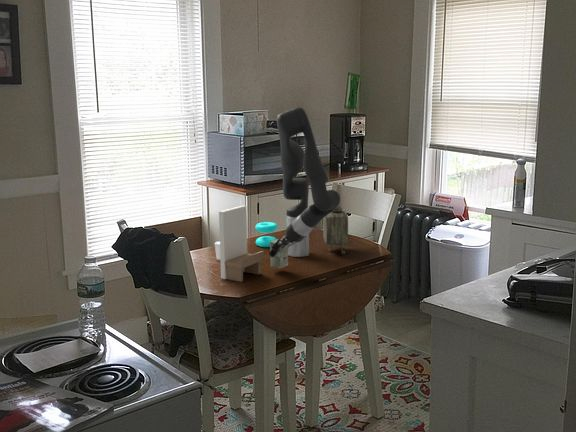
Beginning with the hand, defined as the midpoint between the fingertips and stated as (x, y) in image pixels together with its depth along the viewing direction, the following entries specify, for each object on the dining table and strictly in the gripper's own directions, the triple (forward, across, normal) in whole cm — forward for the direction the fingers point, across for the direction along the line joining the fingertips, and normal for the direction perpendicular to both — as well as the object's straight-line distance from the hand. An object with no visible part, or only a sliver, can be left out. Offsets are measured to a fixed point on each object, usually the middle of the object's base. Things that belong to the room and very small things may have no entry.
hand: (275, 253), depth 248 cm
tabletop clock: (+2, -38, +9) cm, 40 cm away
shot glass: (+26, -3, -15) cm, 30 cm away
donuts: (+24, -31, -13) cm, 42 cm away
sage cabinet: (+2, 0, +5) cm, 5 cm away
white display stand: (+10, +12, 0) cm, 16 cm away
